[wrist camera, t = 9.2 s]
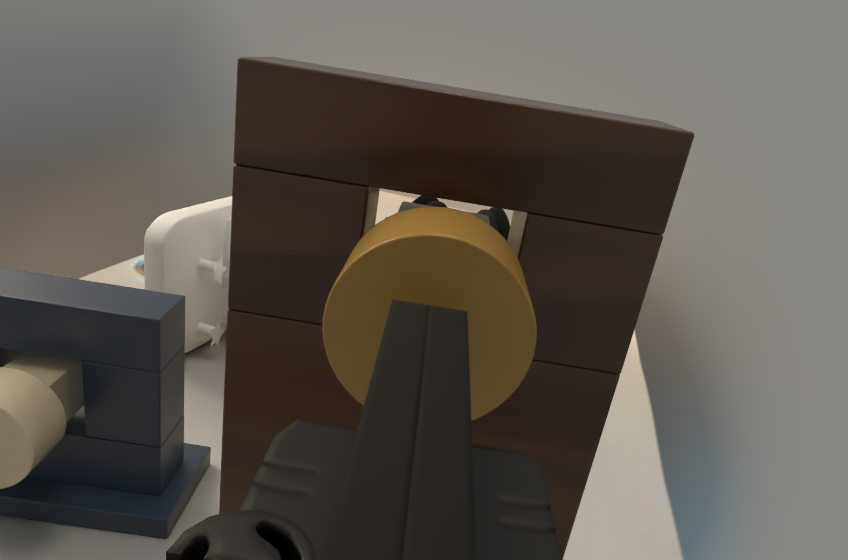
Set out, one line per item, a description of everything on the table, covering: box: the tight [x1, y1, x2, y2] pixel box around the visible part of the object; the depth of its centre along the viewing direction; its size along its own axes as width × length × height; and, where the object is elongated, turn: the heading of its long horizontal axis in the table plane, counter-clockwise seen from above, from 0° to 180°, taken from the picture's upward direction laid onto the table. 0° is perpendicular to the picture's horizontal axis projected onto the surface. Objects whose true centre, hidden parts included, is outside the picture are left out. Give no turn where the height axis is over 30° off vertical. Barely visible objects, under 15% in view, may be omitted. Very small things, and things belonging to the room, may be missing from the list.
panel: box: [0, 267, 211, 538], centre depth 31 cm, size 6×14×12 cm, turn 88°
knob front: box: [322, 202, 537, 421], centre depth 16 cm, size 6×5×5 cm
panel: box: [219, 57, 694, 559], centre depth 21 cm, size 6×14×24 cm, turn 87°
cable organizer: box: [144, 196, 232, 353], centre depth 48 cm, size 15×11×12 cm
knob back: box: [0, 352, 84, 489], centre depth 28 cm, size 6×5×5 cm
